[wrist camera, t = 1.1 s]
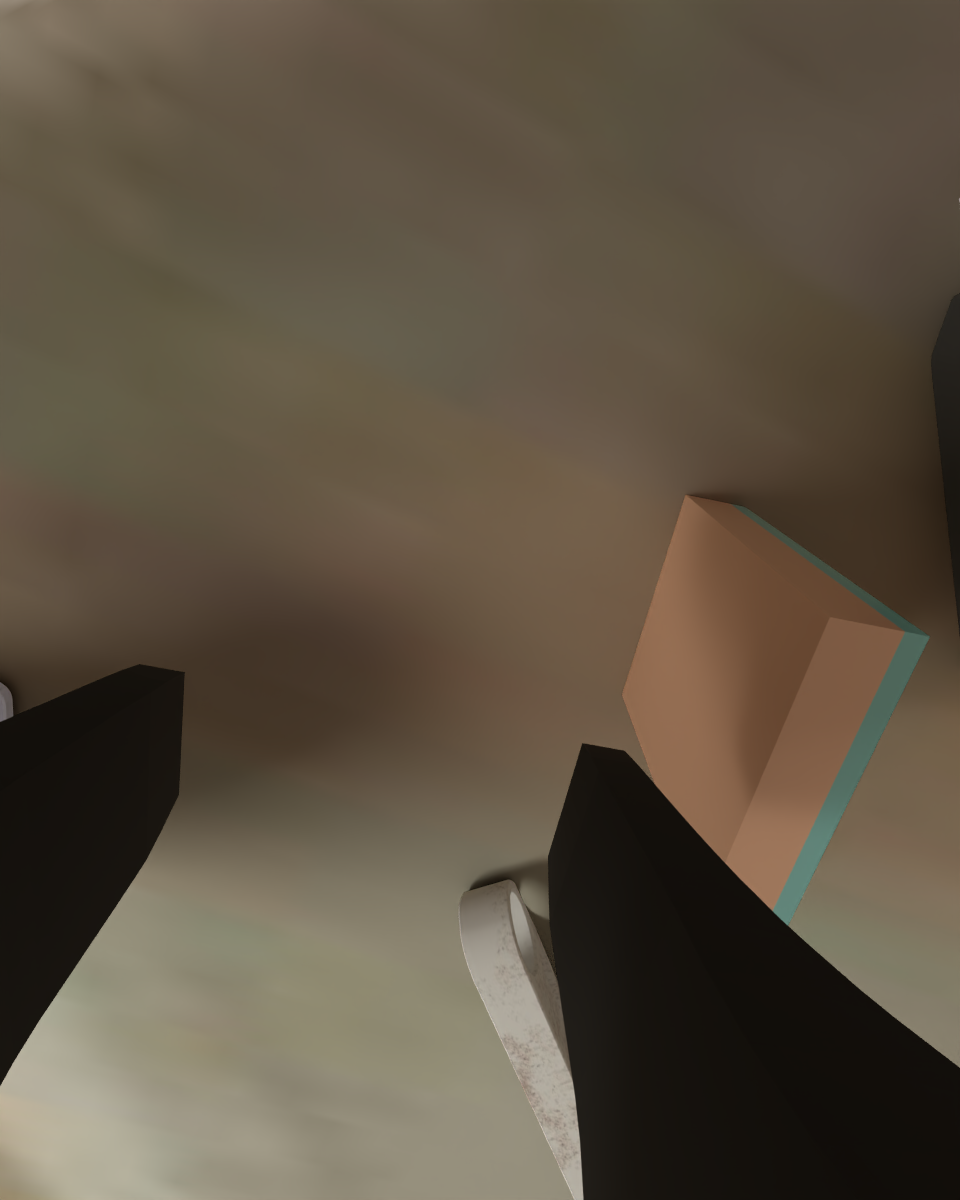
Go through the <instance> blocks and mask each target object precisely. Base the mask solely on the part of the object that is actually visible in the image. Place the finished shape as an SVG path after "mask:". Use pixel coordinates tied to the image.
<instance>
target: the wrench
mask: <svg viewBox="0 0 960 1200" xmlns="http://www.w3.org/2000/svg"><path fill="white" fill-rule="evenodd" d="M459 926H460V936H461V942H462V946H463V951H464V954H465V958H466V961H467V965H468V968H469V971H470V973H471V976H472V978H473V981H474V983H475V985H476V987H477V989H478V991H479V993H480V996H481V998H482V1000H483V1002H484V1004H485V1007H486V1009H487V1011H488V1013H489V1015H490V1017H491V1020H492V1022H493V1024H494V1026H495V1028H496V1030H497V1033H498V1035H499V1037H500V1039H501V1041H502V1043H503V1046H504V1048H505V1050H506V1052H507V1054H508V1056H509V1059H510V1061H511V1063H512V1065H513V1067H514V1069H515V1072H516V1074H517V1076H518V1078H519V1080H520V1082H521V1085H522V1087H523V1089H524V1091H525V1093H526V1096H527V1098H528V1100H529V1102H530V1104H531V1106H532V1109H533V1111H534V1113H535V1115H536V1117H537V1119H538V1122H539V1124H540V1126H541V1128H542V1130H543V1132H544V1135H545V1137H546V1139H547V1141H548V1143H549V1145H550V1148H551V1150H552V1152H553V1154H554V1156H555V1158H556V1161H557V1163H558V1165H559V1167H560V1169H561V1171H562V1174H563V1176H564V1178H565V1180H566V1182H567V1185H568V1187H569V1189H570V1191H571V1193H572V1195H573V1198H574V1200H583V1184H582V1168H581V1151H580V1137H579V1128H578V1119H577V1110H576V1101H575V1094H574V1087H573V1080H572V1073H571V1067H570V1060H569V1053H568V1047H567V1040H566V1033H565V1027H564V1020H563V1013H562V1007H561V1000H560V993H559V987H558V981H557V979H556V976H555V974H554V971H553V969H552V966H551V964H550V962H549V959H548V957H547V954H546V952H545V949H544V947H543V945H542V942H541V940H540V937H539V935H538V933H537V930H536V928H535V926H534V923H533V921H532V919H531V917H530V915H529V913H528V910H527V908H526V906H525V904H524V903H523V900H522V898H521V895H520V893H519V891H518V889H517V887H516V885H515V883H514V882H513V881H512V880H509V879H508V880H505V881H501V882H498V883H495V884H491V885H488V886H484V887H481V888H477V889H474V890H470V891H467V892H464V893H463V895H462V897H461V899H460V903H459Z"/></svg>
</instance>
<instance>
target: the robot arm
mask: <svg viewBox="0 0 960 1200" xmlns="http://www.w3.org/2000/svg"><path fill="white" fill-rule="evenodd" d="M184 674H185V672H179V671H174V670H168V669H163V668H157V667H151V666H146V665H140V664H139V665H136V666H133V667H130V668H127V669H124V670H122V671H119V672H117V673H114V674H112V675H109V676H107V677H104V678H102V679H100V680H97V681H95V682H92V683H90V684H88V685H85V686H83V687H81V688H78V689H76V690H74V691H72V692H69V693H67V694H65V695H62V696H60V697H58V698H55V699H53V700H51V701H48V702H46V703H44V704H41V705H39V706H36V707H34V708H32V709H29V710H27V711H25V712H22V713H20V714H18V715H15V716H13V701H12V695H11V692H10V691H9V689H8V688H7V687H6V686H5V685H3V684H2V683H1V682H0V1086H1V1084H2V1082H3V1080H4V1078H5V1076H6V1075H7V1073H8V1071H9V1069H10V1067H11V1066H12V1064H13V1062H14V1060H15V1059H16V1057H17V1056H18V1054H19V1052H20V1051H21V1049H22V1048H23V1046H24V1044H25V1043H26V1041H27V1039H28V1038H29V1036H30V1035H31V1033H32V1031H33V1030H34V1028H35V1027H36V1025H37V1023H38V1022H39V1020H40V1019H41V1017H42V1016H43V1014H44V1013H45V1011H46V1010H47V1008H48V1007H49V1005H50V1004H51V1002H52V1001H53V999H54V998H55V996H56V995H57V993H58V992H59V990H60V989H61V987H62V986H63V984H64V983H65V981H66V980H67V978H68V977H69V975H70V974H71V972H72V971H73V970H74V968H75V967H76V965H77V964H78V962H79V961H80V959H81V958H82V956H83V955H84V953H85V952H86V950H87V949H88V947H89V946H90V944H91V943H92V941H93V940H94V938H95V937H96V935H97V934H98V932H99V931H100V929H101V928H102V926H103V925H104V923H105V922H106V920H107V919H108V917H109V916H110V914H111V913H112V911H113V910H114V908H115V907H116V905H117V904H118V902H119V901H120V899H121V898H122V896H123V895H124V893H125V892H126V890H127V889H128V887H129V886H130V884H131V883H132V881H133V880H134V878H135V877H136V875H137V874H138V872H139V870H140V869H141V867H142V866H143V864H144V863H145V861H146V860H147V858H148V856H149V854H150V852H151V850H152V848H153V846H154V844H155V842H156V840H157V838H158V836H159V834H160V832H161V830H162V828H163V826H164V824H165V822H166V820H167V818H168V816H169V814H170V812H171V810H172V808H173V806H174V804H175V801H176V799H177V797H178V795H179V780H180V759H181V737H182V716H183V695H184ZM548 878H549V917H550V930H551V938H552V945H553V952H554V959H555V966H556V973H557V980H558V987H559V993H560V1000H561V1007H562V1013H563V1020H564V1027H565V1033H566V1040H567V1047H568V1053H569V1060H570V1067H571V1073H572V1080H573V1087H574V1094H575V1101H576V1110H577V1119H578V1128H579V1137H580V1151H581V1168H582V1184H583V1200H960V1068H959V1067H958V1066H957V1065H955V1064H954V1063H953V1062H952V1061H950V1060H949V1059H948V1058H946V1057H945V1056H944V1055H942V1054H941V1053H940V1052H939V1051H937V1050H936V1049H935V1048H933V1047H932V1046H931V1045H929V1044H928V1043H927V1042H926V1041H924V1040H923V1039H922V1038H920V1037H919V1036H918V1035H916V1034H915V1033H914V1032H913V1031H911V1030H910V1029H909V1028H907V1027H906V1026H905V1025H903V1024H902V1023H901V1022H900V1021H898V1020H897V1019H896V1018H894V1017H893V1016H892V1015H891V1014H889V1013H888V1012H887V1011H886V1010H884V1009H883V1008H882V1007H881V1006H880V1005H878V1004H877V1003H876V1002H875V1001H873V1000H872V999H871V998H870V997H868V996H867V995H866V994H865V993H864V992H862V991H861V990H860V989H859V988H858V987H856V986H855V985H854V984H853V983H852V982H851V981H849V980H848V979H847V978H846V977H845V976H844V975H843V974H841V973H840V972H839V971H838V970H837V969H836V968H835V967H833V966H832V965H831V964H830V963H829V962H828V961H827V960H825V959H824V958H823V957H822V956H821V955H820V954H819V953H817V952H816V951H815V950H814V949H813V948H812V947H811V946H809V945H808V944H807V943H806V942H805V941H804V940H803V939H802V938H801V937H799V936H798V935H797V934H796V933H795V932H794V931H793V930H792V929H791V928H790V927H789V926H788V925H787V924H785V923H784V922H783V921H782V920H781V919H780V918H779V917H778V916H777V915H776V914H775V913H774V912H773V911H772V910H771V909H770V908H769V907H768V906H767V905H766V904H765V903H764V902H763V901H762V900H761V899H760V898H759V897H758V896H757V895H756V894H755V893H754V892H753V891H752V890H751V889H750V888H749V887H748V886H747V885H746V884H745V883H744V882H743V881H742V880H741V879H740V878H739V877H738V876H737V875H736V874H735V873H734V872H733V871H732V870H731V869H730V868H729V866H728V865H727V864H726V863H725V862H724V861H723V860H722V859H721V858H720V857H719V856H718V855H717V854H716V853H715V852H714V850H713V849H712V848H711V847H710V846H709V845H708V844H707V843H706V842H705V841H704V840H703V838H702V837H701V836H700V835H699V834H698V833H697V832H696V831H695V830H694V828H693V827H692V826H691V825H690V824H689V823H688V822H687V821H686V819H685V818H684V817H683V816H682V815H681V814H680V813H679V811H678V810H677V809H676V808H675V807H674V806H673V805H672V803H671V802H670V801H669V800H668V799H667V798H666V797H665V795H664V794H663V793H662V792H661V791H660V790H659V788H658V787H657V786H656V785H655V784H654V783H653V782H652V780H651V779H650V778H649V777H648V776H647V775H646V774H645V772H644V771H643V770H642V769H641V768H640V767H639V766H638V765H637V763H636V762H635V761H634V760H633V759H632V758H631V757H630V756H629V755H628V754H627V753H626V752H625V751H623V750H617V749H611V748H606V747H600V746H595V745H589V744H583V743H582V746H581V750H580V753H579V756H578V759H577V763H576V766H575V769H574V773H573V776H572V779H571V783H570V786H569V789H568V792H567V796H566V799H565V802H564V806H563V809H562V812H561V816H560V819H559V822H558V825H557V829H556V832H555V835H554V839H553V842H552V845H551V849H550V852H549V855H548Z"/></svg>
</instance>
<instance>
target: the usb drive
mask: <svg viewBox="0 0 960 1200" xmlns="http://www.w3.org/2000/svg"><path fill="white" fill-rule="evenodd" d="M959 201H960V198H959ZM931 366H932V379H933V389H934V398H935V408H936V417H937V427H938V436H939V445H940V455H941V464H942V474H943V483H944V493H945V502H946V512H947V521H948V530H949V540H950V549H951V559H952V568H953V578H954V587H955V597H956V606H957V615H958V625H959V634H960V293H959V294H957V295H956V296H954V297H953V299H952V300H951V303H950V306H949V308H948V311H947V314H946V317H945V319H944V322H943V325H942V328H941V330H940V333H939V336H938V339H937V342H936V344H935V347H934V350H933V353H932V360H931Z"/></svg>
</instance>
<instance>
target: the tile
mask: <svg viewBox="0 0 960 1200" xmlns="http://www.w3.org/2000/svg"><path fill="white" fill-rule="evenodd" d="M929 638H930V636H928V635H927V634H926V633H924V632H923V631H921V630H920V629H918V628H917V627H916V626H914V625H913V624H911V623H910V622H908V621H907V620H906V619H904V618H903V617H901V616H900V615H898V614H897V613H896V612H894V611H893V610H891V609H890V608H888V607H887V606H886V605H884V604H883V603H881V602H880V601H878V600H877V599H876V598H874V597H873V596H871V595H870V594H868V593H867V592H866V591H864V590H863V589H861V588H860V587H859V586H857V585H856V584H854V583H853V582H851V581H850V580H849V579H847V578H846V577H844V576H843V575H841V574H840V573H839V572H837V571H836V570H834V569H833V568H831V567H830V566H829V565H827V564H826V563H824V562H823V561H821V560H820V559H819V558H817V557H816V556H814V555H813V554H811V553H810V552H809V551H807V550H806V549H804V548H803V547H801V546H800V545H799V544H797V543H796V542H794V541H793V540H792V539H790V538H789V537H787V536H786V535H784V534H783V533H782V532H780V531H779V530H777V529H776V528H774V527H773V526H772V525H770V524H769V523H767V522H766V521H764V520H763V519H762V518H760V517H759V516H757V515H756V514H754V513H753V512H752V511H750V510H749V509H747V508H746V507H743V506H739V505H734V504H729V503H724V502H719V501H714V500H709V499H704V498H700V497H695V496H690V495H685V498H684V501H683V504H682V508H681V511H680V514H679V517H678V520H677V523H676V526H675V530H674V533H673V536H672V539H671V542H670V545H669V548H668V552H667V555H666V558H665V561H664V564H663V567H662V570H661V574H660V577H659V580H658V583H657V586H656V589H655V592H654V596H653V599H652V602H651V605H650V608H649V611H648V614H647V618H646V621H645V624H644V627H643V630H642V633H641V636H640V639H639V643H638V646H637V649H636V652H635V655H634V658H633V661H632V665H631V668H630V671H629V674H628V677H627V680H626V683H625V687H624V690H623V693H622V696H623V699H624V702H625V704H626V707H627V710H628V713H629V715H630V718H631V721H632V723H633V726H634V729H635V732H636V734H637V737H638V740H639V742H640V745H641V748H642V751H643V753H644V756H645V759H646V761H647V764H648V767H649V770H650V772H651V775H652V778H653V780H654V783H655V785H656V786H657V787H658V788H659V790H660V791H661V792H662V793H663V794H664V795H665V797H666V798H667V799H668V800H669V801H670V802H671V803H672V805H673V806H674V807H675V808H676V809H677V810H678V811H679V813H680V814H681V815H682V816H683V817H684V818H685V819H686V821H687V822H688V823H689V824H690V825H691V826H692V827H693V828H694V830H695V831H696V832H697V833H698V834H699V835H700V836H701V837H702V838H703V840H704V841H705V842H706V843H707V844H708V845H709V846H710V847H711V848H712V849H713V850H714V852H715V853H716V854H717V855H718V856H719V857H720V858H721V859H722V860H723V861H724V862H725V863H726V864H727V865H728V866H729V868H730V869H731V870H732V871H733V872H734V873H735V874H736V875H737V876H738V877H739V878H740V879H741V880H742V881H743V882H744V883H745V884H746V885H747V886H748V887H749V888H750V889H751V890H752V891H753V892H754V893H755V894H756V895H757V896H758V897H759V898H760V899H761V900H762V901H763V902H764V903H765V904H766V905H767V906H768V907H769V908H770V909H771V910H772V911H773V912H774V913H775V914H776V915H777V916H778V917H779V918H780V919H781V920H782V921H783V922H784V923H785V924H787V925H789V923H790V921H791V919H792V916H793V914H794V912H795V910H796V908H797V906H798V904H799V902H800V900H801V898H802V896H803V894H804V892H805V890H806V888H807V886H808V884H809V882H810V880H811V878H812V876H813V874H814V872H815V870H816V868H817V866H818V864H819V862H820V859H821V857H822V855H823V853H824V851H825V849H826V847H827V845H828V843H829V841H830V839H831V837H832V835H833V833H834V831H835V829H836V827H837V825H838V823H839V821H840V819H841V817H842V815H843V813H844V811H845V809H846V807H847V805H848V802H849V800H850V798H851V796H852V794H853V792H854V790H855V788H856V786H857V784H858V782H859V780H860V778H861V776H862V774H863V772H864V770H865V768H866V766H867V764H868V762H869V760H870V758H871V756H872V754H873V752H874V750H875V748H876V745H877V743H878V741H879V739H880V737H881V735H882V733H883V731H884V729H885V727H886V725H887V723H888V721H889V719H890V717H891V715H892V713H893V711H894V709H895V707H896V705H897V703H898V701H899V699H900V697H901V695H902V693H903V690H904V688H905V686H906V684H907V682H908V680H909V678H910V676H911V674H912V672H913V670H914V668H915V666H916V664H917V662H918V660H919V658H920V656H921V654H922V652H923V650H924V648H925V646H926V644H927V642H928V640H929Z"/></svg>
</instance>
